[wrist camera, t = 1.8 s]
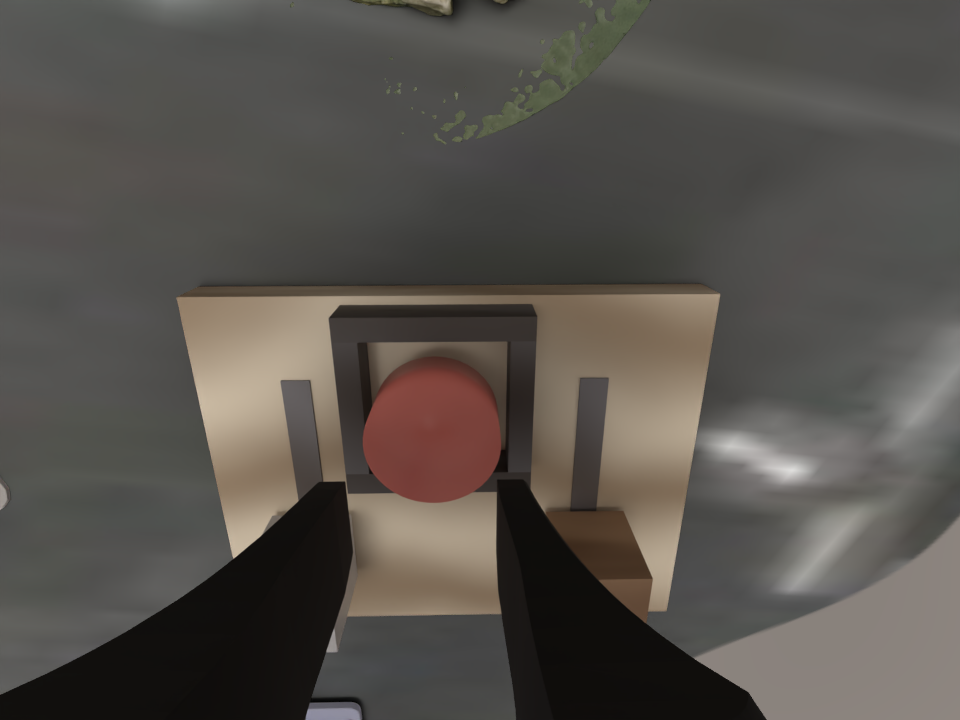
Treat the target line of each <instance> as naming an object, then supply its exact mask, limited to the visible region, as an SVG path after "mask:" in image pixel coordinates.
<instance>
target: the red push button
mask: <svg viewBox="0 0 960 720" xmlns="http://www.w3.org/2000/svg"><path fill="white" fill-rule="evenodd" d="M363 450H364V455H365V458H366V461H367V463H368V465H369V467H370V469H371V471H372V472H373V474H374V475H375V476H376V478H377V479H378V480H379V481H380V482H381V483H382V484H383V485H384V486H386V487H387V488H388V489H390V490H391V491H393V492H394V493H396V494H398V495H400V496H402V497H405V498H407V499H410V500H414V501H418V502H425V503H442V502H448V501H453V500H456V499H460V498H462V497H464V496H467V495H469V494H470V493H472V492H474V491H475V490H477V489H478V488H479V487H481V486H482V485H483V484H484V483H485V482H486V481H487V480H488V478H489V477H490V476H491V475H492V473H493V471H494V470H495V468H496V465H497V463H498V461H499V457H500V453H501V435H500V426H499V417H498V408H497V402H496V398H495V395H494V393H493V391H492V389H491V387H490V385H489V384H488V382H487V381H486V380H485V378H484V377H483V376H482V375H481V374H480V373H479V372H477V371H476V370H475V369H474V368H472V367H470V366H469V365H467V364H465V363H463V362H461V361H458V360H455V359H452V358H447V357H437V356H432V357H423V358H418V359H415V360H412V361H409V362H407V363H405V364H403V365H401V366H400V367H398V368H396V369H395V370H394V371H393V372H392V373H391V374H389V376H388V377H387V378H386V379H385V380H384V382H383V383H382V385H381V387H380V389H379V391H378V393H377V396H376V398H375V401H374V403H373V406H372V409H371V411H370V414H369V416H368V419H367V422H366V425H365V428H364V433H363Z"/></svg>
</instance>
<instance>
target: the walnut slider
mask: <svg viewBox="0 0 960 720" xmlns="http://www.w3.org/2000/svg"><path fill="white" fill-rule="evenodd" d="M546 516H547V517H548V519H549V520H550V522H551V523H552V524H553V526H554V527H555V528H556V530H557V531H558V533H559V534H560V535H561V537H562V538H563V539H564V541H565V542H566V543H567V544H568V546H569V547H570V548H571V550H572V551H573V552H574V553H575V554H576V555H577V557H578V558H579V559H580V560H581V561H582V563H583V564H584V565H585V566H586V567H587V568H588V569H589V571H590V572H591V573H592V574H593V575H594V576H595V577H596V578H597V579H598V580H599V581H600V582H601V583H602V584H603V585H604V586H605V587H606V588H607V589H608V590H609V591H610V592H611V593H612V594H613V595H614V596H615V597H616V598H617V599H618V600H619V601H620V602H621V603H622V604H624V605H625V606H626V607H627V608H628V609H629V610H630V611H632V612H633V613H634V614H635V615H636V616H638V617H639V618H640V619H641V620H643V621H644V622H645V623H646V621H647V615H648V608H649V602H650V595H651V589H652V582H653V578H652V575H651V573H650V571H649V569H648V566H647V564H646V562H645V559H644V557H643V555H642V552H641V550H640V548H639V546H638V543H637V541H636V539H635V536H634V534H633V532H632V530H631V527H630V525H629V523H628V520H627V518H626V516H625V513H624V511H575V512H546Z"/></svg>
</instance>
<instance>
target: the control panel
mask: <svg viewBox="0 0 960 720" xmlns="http://www.w3.org/2000/svg"><path fill="white" fill-rule="evenodd" d="M719 299H720V294H719V293H718V292H716V291H714V290H712V289H710V288H708V287H707V286H705V285H703V284H579V285H399V286H218V287H197V288H195V289H193V290H191V291H188V292H186V293H184V294H182V295H180V296H178V297H177V302H178V306H179V311H180V315H181V320H182V325H183V329H184V334H185V338H186V343H187V348H188V352H189V357H190V361H191V366H192V371H193V375H194V380H195V384H196V389H197V394H198V398H199V403H200V408H201V412H202V417H203V421H204V426H205V431H206V435H207V440H208V444H209V449H210V454H211V458H212V463H213V467H214V472H215V477H216V481H217V486H218V490H219V495H220V500H221V504H222V509H223V513H224V518H225V523H226V527H227V532H228V536H229V541H230V546H231V550H232V555H233V559H234V558H235V557H236V556H238V555H239V554H240V553H241V552H242V551H244V550H245V549H246V548H247V547H248V546H250V545H251V544H252V543H253V542H254V541H256V540H257V539H258V538H259V537H260V536H261V535H262V534H263V532H264V530H265V528H266V526H267V524H268V523H269V521H270V519H271V517H272V516H278V515H284V514H285V513H286V512H287V511H288V510H289V509H291V508H292V507H293V506H294V505H295V504H296V503H297V502H298V501H299V500H300V499H301V498H302V497H303V496H304V495H305V494H306V493H307V492H308V491H309V490H311V489H312V488H313V487H314V486H315V485H316V484H317V483H318V482H335V481H345V483H346V492H347V501H348V510H349V515H351V518H352V527H353V536H354V546H355V555H356V564H357V573H358V577H357V581H356V584H355V588H354V592H353V596H352V599H351V603H350V607H349V611H348V615H347V616H404V615H463V614H501V607H500V601H499V594H498V580H497V560H496V514H497V480H498V479H524V480H525V481H526V482H527V483H528V485H529V487H530V489H531V491H532V493H533V495H534V496H535V498H536V500H537V502H538V503H539V505H540V506H541V508H542V509H543V511H544V513H545V514H546V512H575V511H624V513H625V516H626V518H627V520H628V523H629V525H630V527H631V530H632V532H633V534H634V536H635V539H636V541H637V543H638V546H639V548H640V550H641V552H642V555H643V557H644V559H645V562H646V564H647V566H648V569H649V571H650V573H651V575H652V578H653V582H652V589H651V595H650V602H649V608H648V611H667V605H668V599H669V593H670V588H671V582H672V576H673V570H674V564H675V558H676V552H677V546H678V540H679V535H680V529H681V523H682V517H683V511H684V505H685V499H686V493H687V487H688V482H689V476H690V470H691V464H692V458H693V452H694V446H695V440H696V434H697V429H698V423H699V417H700V411H701V405H702V399H703V393H704V387H705V381H706V376H707V370H708V364H709V358H710V352H711V346H712V340H713V334H714V328H715V322H716V317H717V311H718V305H719ZM432 356H437V357H447V358H452V359H455V360H458V361H461V362H463V363H465V364H467V365H469V366H470V367H472V368H474V369H475V370H476V371H477V372H479V373H480V374H481V375H482V376H483V377H484V378H485V380H486V381H487V382H488V384H489V385H490V387H491V389H492V391H493V393H494V395H495V398H496V402H497V408H498V417H499V426H500V435H501V453H500V457H499V461H498V463H497V465H496V468H495V470H494V471H493V473H492V475H491V476H490V477H489V478H488V480H487V481H486V482H485V483H484V484H483V485H482V486H481V487H479V488H478V489H477V490H475V491H474V492H472V493H470V494H469V495H467V496H464V497H462V498H460V499H456V500H453V501H448V502H442V503H425V502H418V501H414V500H410V499H407V498H405V497H402V496H400V495H398V494H396V493H394V492H393V491H391V490H390V489H388V488H387V487H386V486H384V485H383V484H382V483H381V482H380V481H379V480H378V479H377V478H376V476H375V475H374V474H373V472H372V471H371V469H370V467H369V465H368V463H367V461H366V458H365V455H364V450H363V433H364V428H365V425H366V422H367V419H368V416H369V414H370V411H371V409H372V406H373V403H374V401H375V398H376V396H377V393H378V391H379V389H380V387H381V385H382V383H383V382H384V380H385V379H386V378H387V377H388V376H389V374H391V373H392V372H393V371H394V370H395V369H396V368H398V367H400V366H401V365H403V364H405V363H407V362H409V361H412V360H415V359H418V358H423V357H432Z"/></svg>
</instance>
